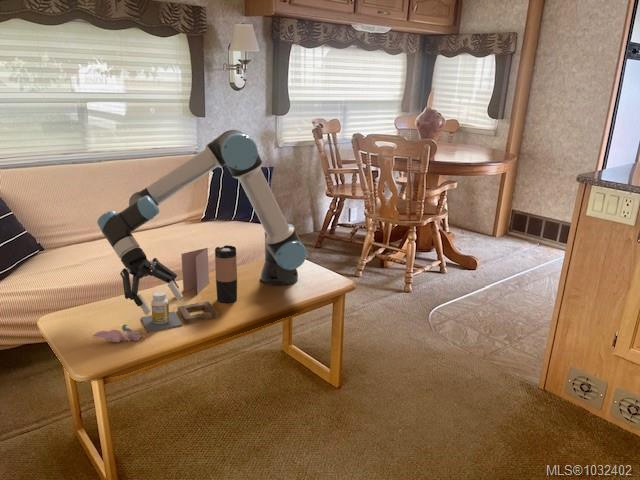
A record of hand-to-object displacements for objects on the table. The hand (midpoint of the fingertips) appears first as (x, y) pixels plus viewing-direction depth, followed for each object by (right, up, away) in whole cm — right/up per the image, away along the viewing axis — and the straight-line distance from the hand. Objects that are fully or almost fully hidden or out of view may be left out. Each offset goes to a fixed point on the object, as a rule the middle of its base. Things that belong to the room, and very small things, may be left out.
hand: (165, 305), depth 168 cm
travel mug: (+16, -1, +22) cm, 27 cm away
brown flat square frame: (+8, -4, +10) cm, 13 cm away
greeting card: (+4, +2, +31) cm, 31 cm away
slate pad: (-2, -6, +3) cm, 7 cm away
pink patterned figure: (-11, -10, -9) cm, 18 cm away
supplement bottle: (-2, -6, +3) cm, 7 cm away
